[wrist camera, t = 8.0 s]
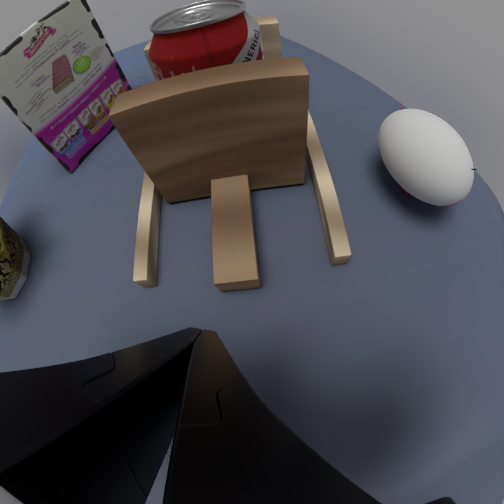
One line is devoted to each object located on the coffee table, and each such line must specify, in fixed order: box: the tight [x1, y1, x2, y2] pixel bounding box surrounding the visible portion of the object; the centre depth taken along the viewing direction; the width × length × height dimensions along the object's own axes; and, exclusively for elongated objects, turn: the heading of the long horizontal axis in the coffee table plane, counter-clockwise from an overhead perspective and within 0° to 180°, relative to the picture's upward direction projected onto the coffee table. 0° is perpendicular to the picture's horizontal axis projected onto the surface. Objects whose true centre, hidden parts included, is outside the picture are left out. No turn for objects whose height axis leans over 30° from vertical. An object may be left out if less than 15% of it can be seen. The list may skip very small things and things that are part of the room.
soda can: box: [149, 0, 264, 80], centre depth 16 cm, size 7×7×12 cm
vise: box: [133, 16, 351, 287], centre depth 16 cm, size 18×13×9 cm
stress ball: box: [378, 105, 476, 206], centre depth 15 cm, size 8×8×7 cm
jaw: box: [108, 57, 309, 292], centre depth 14 cm, size 9×10×9 cm
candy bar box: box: [0, 0, 132, 173], centre depth 18 cm, size 11×5×16 cm, turn 144°
